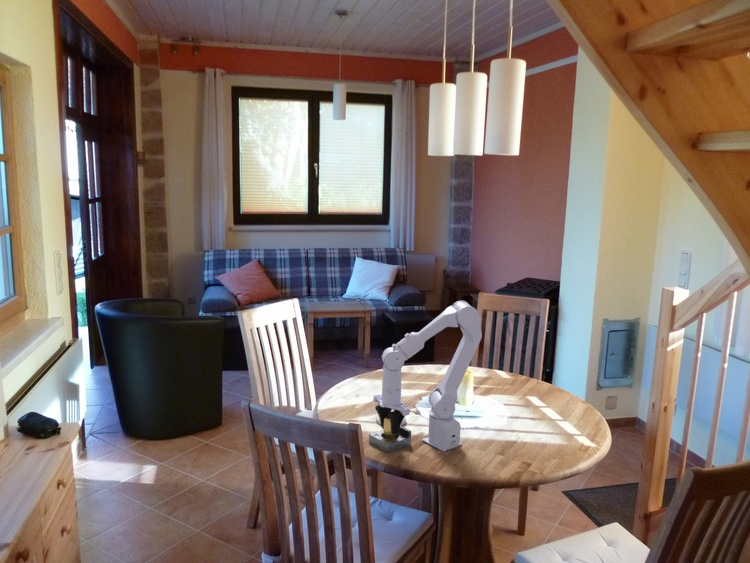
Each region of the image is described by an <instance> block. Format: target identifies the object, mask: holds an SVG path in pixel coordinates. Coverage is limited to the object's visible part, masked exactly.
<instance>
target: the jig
mask: <svg viewBox="0 0 750 563" xmlns="http://www.w3.org/2000/svg"><path fill="white" fill-rule="evenodd" d="M383 432H384V429H381V430H378V431H375V432H372V433H369V434H368V442H369V443H370V444H372V445H374V446H376V447H377V448H379V449H381V450H383V451H385V452H386V453H390V452H393V451H397V450H400V449H402V448H406V447H408V446H411V445H412V444H411V443H412V430H410V429H409V428H406V427H404V426H403V425H400V428H399V432H398V433H397V437H396V439H385V438H383Z"/></svg>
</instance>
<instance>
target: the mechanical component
mask: <svg viewBox="0 0 750 563" xmlns="http://www.w3.org/2000/svg"><path fill="white" fill-rule="evenodd" d="M393 411H394V410H393V409H392V410H391V412H393ZM375 421H376V423H377V425H380V426H381V421H380V418H379V415H378V414H377V415H376V418H375ZM406 422H407V417H406V416H405V417H404V419H403V420H402V423H401V426H403V425H405V424H406Z"/></svg>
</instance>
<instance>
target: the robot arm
mask: <svg viewBox="0 0 750 563" xmlns="http://www.w3.org/2000/svg"><path fill="white" fill-rule="evenodd" d="M481 321H482V317H481V316H480V314H479V312H478V310H477V308H475V307H473V306H471V305H470V304H469V303H468V302H467V301H466V300H458V301H456V302H454V303H452V305H450V306H448V307H446V308H445V310H444V311H442V312H441V313H440V314H439V315H438V316H436V317H435V318H433V319H432V321H430V322H429V323H428V324H427V325H426V326H424V327H423V328H422V329H420V331H418V332H417V331H416V332H415V331H412V332H410V333H409V332H407V333H406V334H404V338H402V339H400V341H398V342H397V343H396V344H395V343H392V345H391V347H389V346H388V347H387V348H385V349H384V350H383V352H382V355H381V360H382V363H383V365H382V366H383V367H382V383H381V384H382V385H381V394H378V393H377V394H374V395H373V396H372V397H373V398H372V401H373V402H374V403H378V405H375V407H374V408H375V411H376V412H377V415H379V418H380V421H381V425H380V426H381V430H384V417H385V416H388V415H389V416H390V420H391V432H392V434H396V433H398V432H399V428H400V425H401V423H402V420H403V419H404V417H406V416H409V415H410V412H411V410H410V407H408V406H406V405H405V404H404V402H402V400H401V399H402V398H401V397H402V378H403V377H402V368H403V367H404V365H405V361H408V359H410V358H412V357H413V356H414V355H416V354H417V353H419V352H420V351H421V350H423V349H424V347H425V343H426V342H427V341H428V340H429V339H430V338H432V337H435V335H437V334H438V333H440V332H442V331H443V330H444V329H446V328H460V330H461V333H462V338H461V340H460V341H459V344H458V345H457V348H456V349H455V350H456V351H455V353H454V354H453V356H452V359H451V362H450V363H449V366H448V368H447V369H446V372H445V374H444V377H443V378H442V380H441V381H440V382H439V383H438V384H437V386H436V387H435V388H434V390H432V391H431V392H430V394H429V396H428V403H429V404H430V406H431V408H430V411H429V415H428V417H429V418H428V436H427V437H425V438H422V439H421V440H422V442H424V443H426V444H428V445H429V446H432V447H434V448H436V449H438V450H440V451H442V452H446V451H448V450H451V449H454V448H457V447H459V446H462V442H461V422H460V421H458V420H457V419H455V417H454V414H455V411H456V402H457V400H458V390H459V387H460V385H461V383H462V381H463V378H464V377H465V375H466V373H467V370H468V368H469V367H470V364H471V361H472V359H473V357H474V355H475V353H476V351H477V349H478V347H479V345H480V343H481V340H482V336H483V335H482V334H483V333H482V324H481ZM392 409H393V410H394V411H393V412H391V410H392ZM401 426H402V425H401Z"/></svg>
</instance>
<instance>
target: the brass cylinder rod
mask: <svg viewBox="0 0 750 563" xmlns="http://www.w3.org/2000/svg"><path fill="white" fill-rule="evenodd" d="M383 430H384V432H383V438H385V439H396V437H397V433H396V434H392V432H391V420H390V416H389V415H388V416H385V417H384V429H383Z"/></svg>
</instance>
